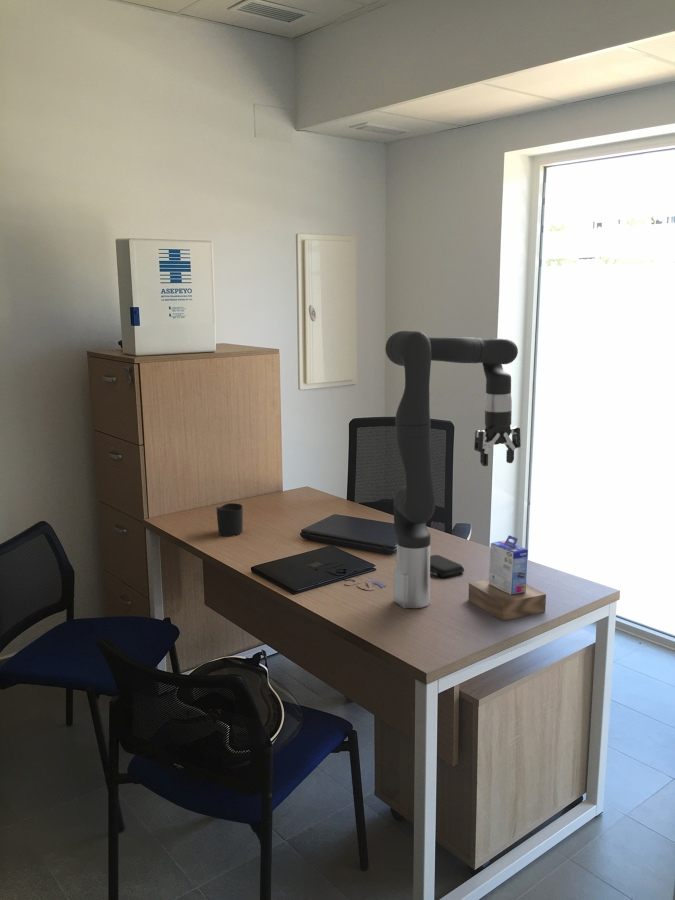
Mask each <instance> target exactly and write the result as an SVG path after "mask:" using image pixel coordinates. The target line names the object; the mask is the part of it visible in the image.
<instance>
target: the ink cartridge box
mask: <svg viewBox="0 0 675 900" xmlns="http://www.w3.org/2000/svg"><path fill="white" fill-rule="evenodd" d="M518 539H519V538H517V537H514V536H512V535H508V536H507V538H506V540H499V541H495V542H491V543H490V549H489V567H488V568H489V570H488V579H489V584H490V585H492V586H494V587H496V588H498V589H500V590H502V591H504V592H506V593H508V594H510V595H512V594H518V593H524V592H526V584H527V571H528V553H529V552H528V551H529V549H527V548H525V547H522V546H519V545H516V544H517V543H518ZM510 540H513V542H512V541H510Z"/></svg>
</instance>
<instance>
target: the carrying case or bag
mask: <svg viewBox="0 0 675 900" xmlns="http://www.w3.org/2000/svg"><path fill="white" fill-rule="evenodd" d="M464 571H465V569H464V567H463V565H462V564H460V563H458V562H456V561H453V560H451V559H449V558H446V557H444V556H441V555H439V554H433V555H432V554H431V555H430V575H433V576H436V577H438V578H441V579H447V578H451V577H455V576H458V575H462V574H463V573H464Z"/></svg>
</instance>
